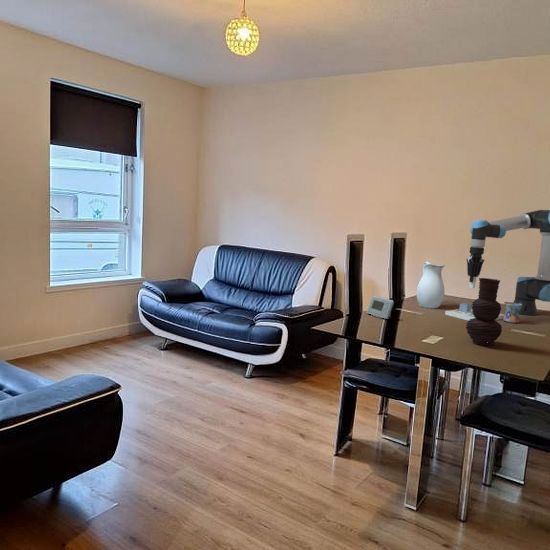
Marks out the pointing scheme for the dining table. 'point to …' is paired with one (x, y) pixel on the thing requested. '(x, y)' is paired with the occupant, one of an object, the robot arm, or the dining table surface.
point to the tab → (465, 307)
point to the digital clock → (380, 307)
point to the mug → (512, 312)
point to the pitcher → (431, 286)
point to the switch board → (466, 314)
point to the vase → (485, 314)
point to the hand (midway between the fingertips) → (471, 287)
